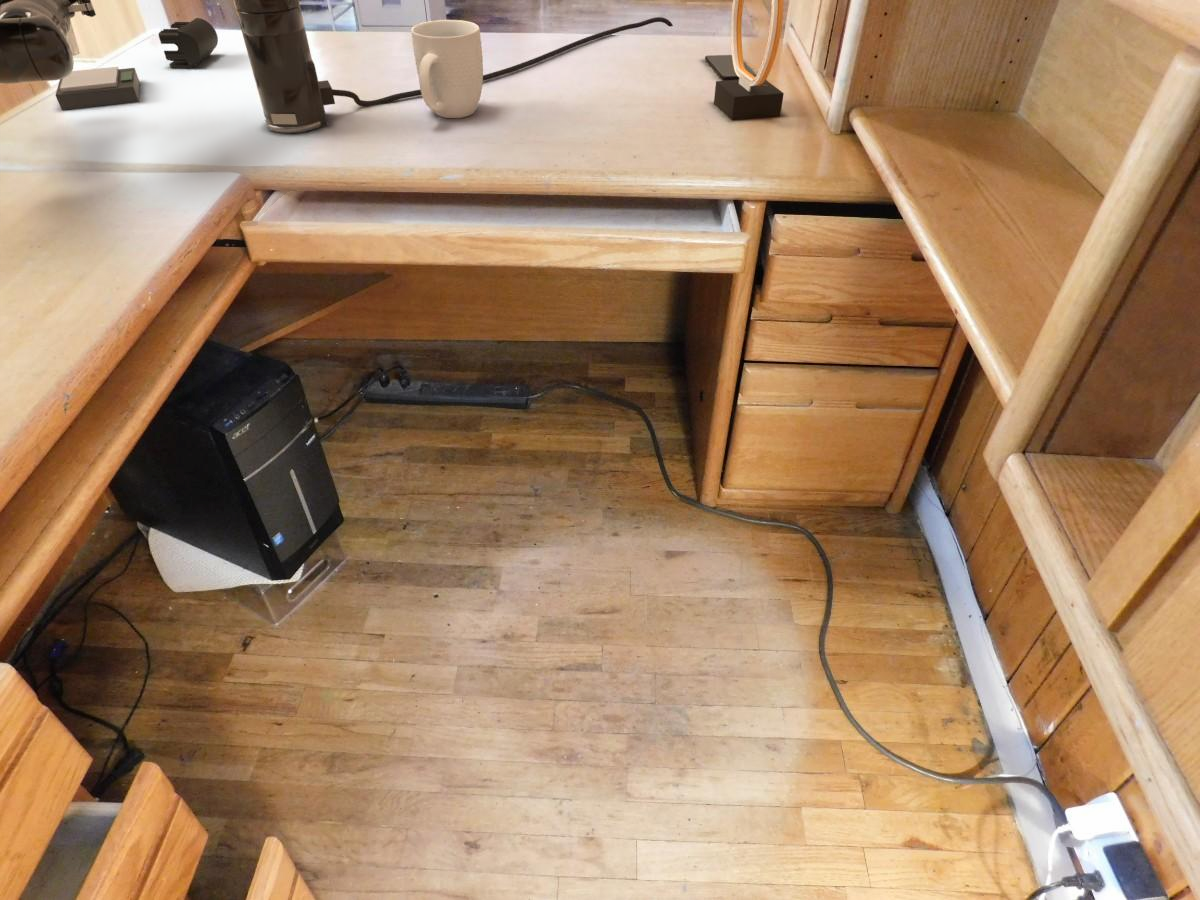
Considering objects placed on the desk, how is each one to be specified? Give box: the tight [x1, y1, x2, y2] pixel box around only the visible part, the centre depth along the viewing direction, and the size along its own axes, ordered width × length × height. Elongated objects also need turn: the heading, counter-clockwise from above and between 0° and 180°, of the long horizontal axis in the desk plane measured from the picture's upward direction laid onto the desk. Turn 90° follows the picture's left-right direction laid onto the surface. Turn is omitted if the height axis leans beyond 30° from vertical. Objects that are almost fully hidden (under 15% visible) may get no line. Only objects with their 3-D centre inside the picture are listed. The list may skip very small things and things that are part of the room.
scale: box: [55, 66, 141, 111], centre depth 136 cm, size 12×12×3 cm
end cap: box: [158, 17, 219, 69], centre depth 151 cm, size 10×7×7 cm
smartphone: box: [704, 54, 757, 81], centre depth 151 cm, size 7×1×15 cm
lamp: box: [713, 0, 785, 121], centre depth 124 cm, size 17×9×32 cm, turn 14°
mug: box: [410, 19, 484, 119], centre depth 127 cm, size 15×11×13 cm
